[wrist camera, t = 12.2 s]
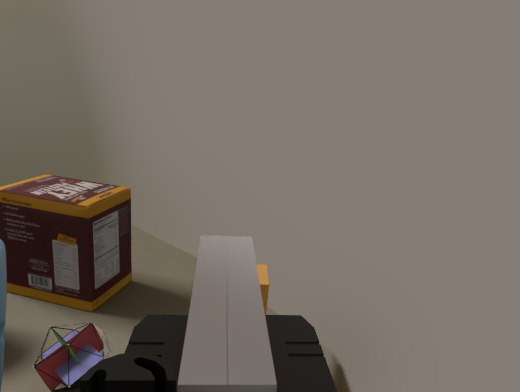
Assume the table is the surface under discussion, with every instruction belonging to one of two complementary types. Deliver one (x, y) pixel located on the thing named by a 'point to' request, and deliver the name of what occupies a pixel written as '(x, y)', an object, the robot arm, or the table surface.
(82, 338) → the geometric puzzle
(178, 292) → the table surface
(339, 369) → the table surface
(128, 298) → the table surface
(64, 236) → the supplement box
